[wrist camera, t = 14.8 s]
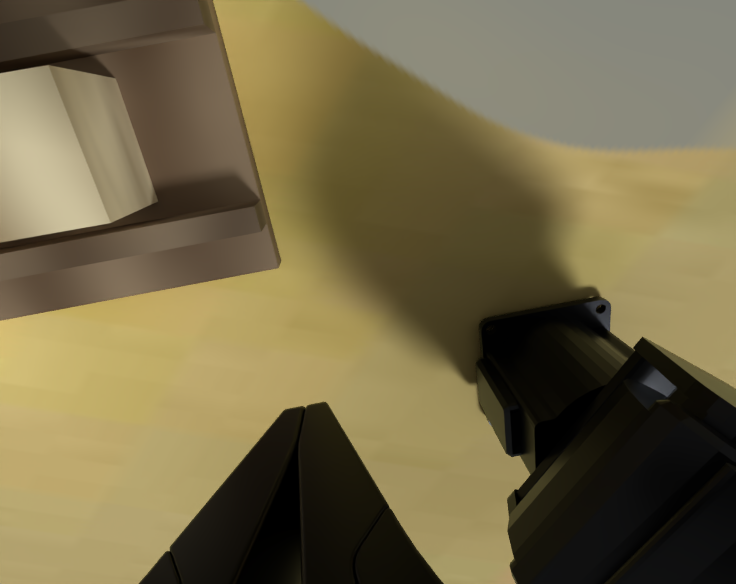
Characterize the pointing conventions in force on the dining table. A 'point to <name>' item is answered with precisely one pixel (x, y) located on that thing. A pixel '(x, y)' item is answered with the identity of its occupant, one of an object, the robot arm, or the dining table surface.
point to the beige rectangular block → (66, 153)
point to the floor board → (144, 155)
